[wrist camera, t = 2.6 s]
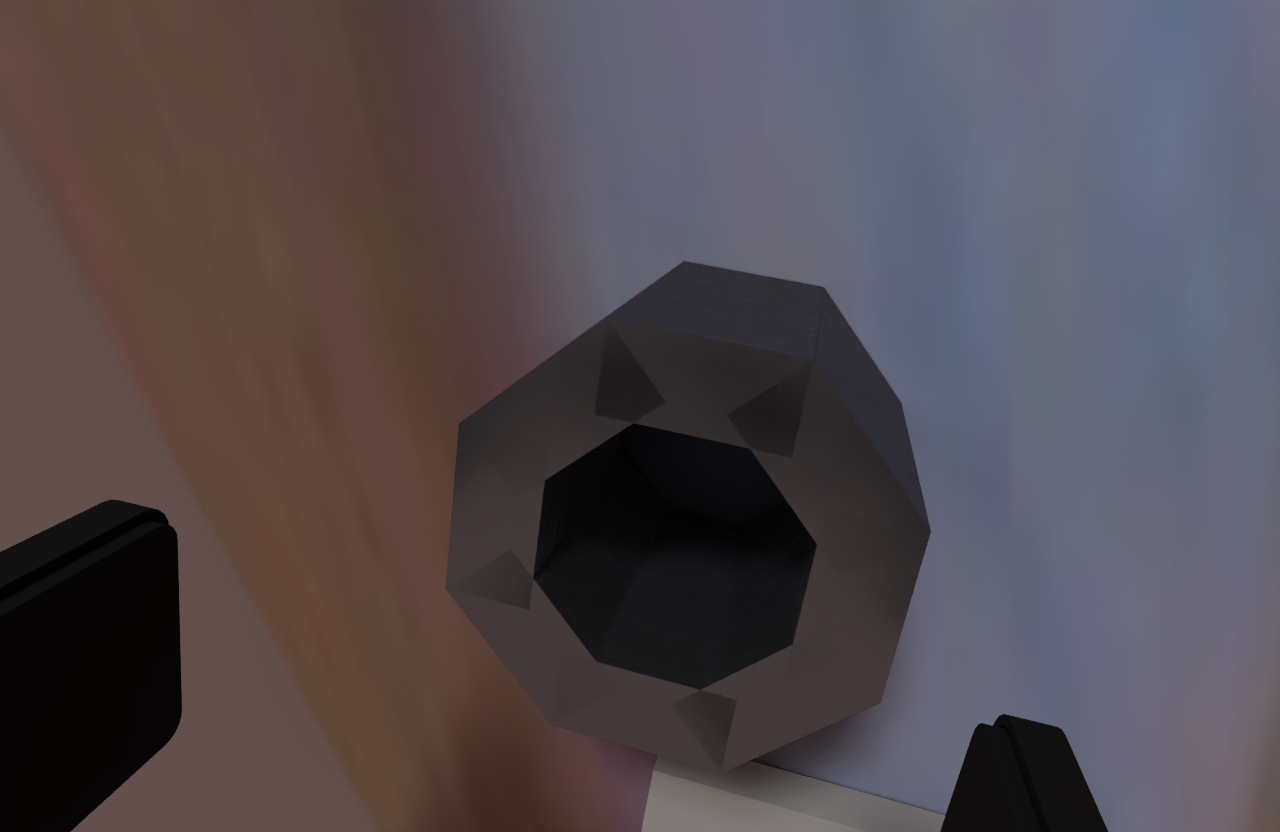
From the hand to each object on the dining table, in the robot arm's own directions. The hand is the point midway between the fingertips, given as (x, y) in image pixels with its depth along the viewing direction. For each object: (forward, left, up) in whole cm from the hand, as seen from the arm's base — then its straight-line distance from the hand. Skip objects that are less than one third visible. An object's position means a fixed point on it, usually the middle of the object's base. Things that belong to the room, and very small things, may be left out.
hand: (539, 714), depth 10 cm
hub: (-1, 0, -9) cm, 9 cm away
